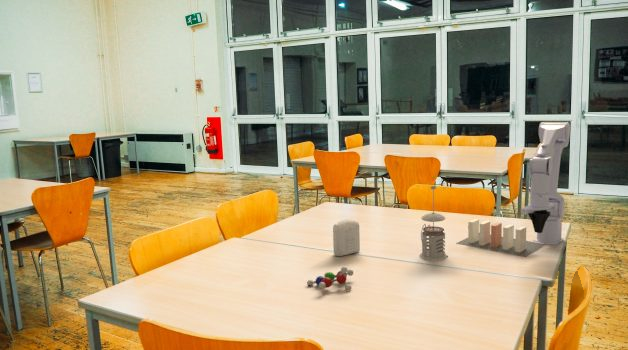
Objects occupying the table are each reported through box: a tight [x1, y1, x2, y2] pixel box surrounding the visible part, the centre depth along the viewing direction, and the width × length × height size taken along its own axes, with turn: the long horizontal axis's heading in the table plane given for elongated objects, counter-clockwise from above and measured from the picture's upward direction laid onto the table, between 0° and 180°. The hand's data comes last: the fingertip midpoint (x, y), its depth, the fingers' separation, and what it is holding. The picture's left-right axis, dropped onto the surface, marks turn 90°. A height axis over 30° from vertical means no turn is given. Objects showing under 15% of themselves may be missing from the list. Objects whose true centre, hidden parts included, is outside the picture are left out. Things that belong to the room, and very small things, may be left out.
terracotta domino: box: [490, 222, 503, 248], centre depth 183 cm, size 5×2×8 cm, turn 136°
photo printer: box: [332, 219, 361, 257], centre depth 183 cm, size 10×4×12 cm, turn 123°
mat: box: [456, 232, 548, 258], centre depth 186 cm, size 18×26×1 cm
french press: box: [419, 185, 449, 262], centre depth 174 cm, size 10×12×25 cm
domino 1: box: [467, 218, 480, 243], centre depth 189 cm, size 5×2×8 cm, turn 135°
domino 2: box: [479, 220, 491, 246], centre depth 186 cm, size 5×2×8 cm, turn 135°
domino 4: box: [514, 225, 527, 252], centre depth 177 cm, size 5×2×8 cm, turn 135°
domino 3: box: [502, 223, 515, 250], centre depth 180 cm, size 5×2×8 cm, turn 135°
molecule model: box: [306, 265, 354, 291], centre depth 154 cm, size 15×7×14 cm
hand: (538, 232), depth 172 cm, fingers closed
